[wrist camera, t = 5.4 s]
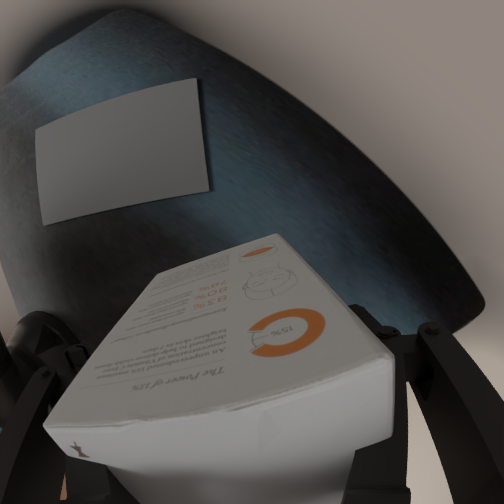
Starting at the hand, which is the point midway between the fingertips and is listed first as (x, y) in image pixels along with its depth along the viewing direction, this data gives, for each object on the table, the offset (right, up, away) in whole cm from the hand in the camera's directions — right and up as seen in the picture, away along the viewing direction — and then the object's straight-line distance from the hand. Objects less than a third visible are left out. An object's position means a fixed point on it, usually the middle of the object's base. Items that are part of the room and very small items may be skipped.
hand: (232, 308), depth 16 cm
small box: (0, 0, +2) cm, 2 cm away
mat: (-16, +15, +13) cm, 26 cm away
